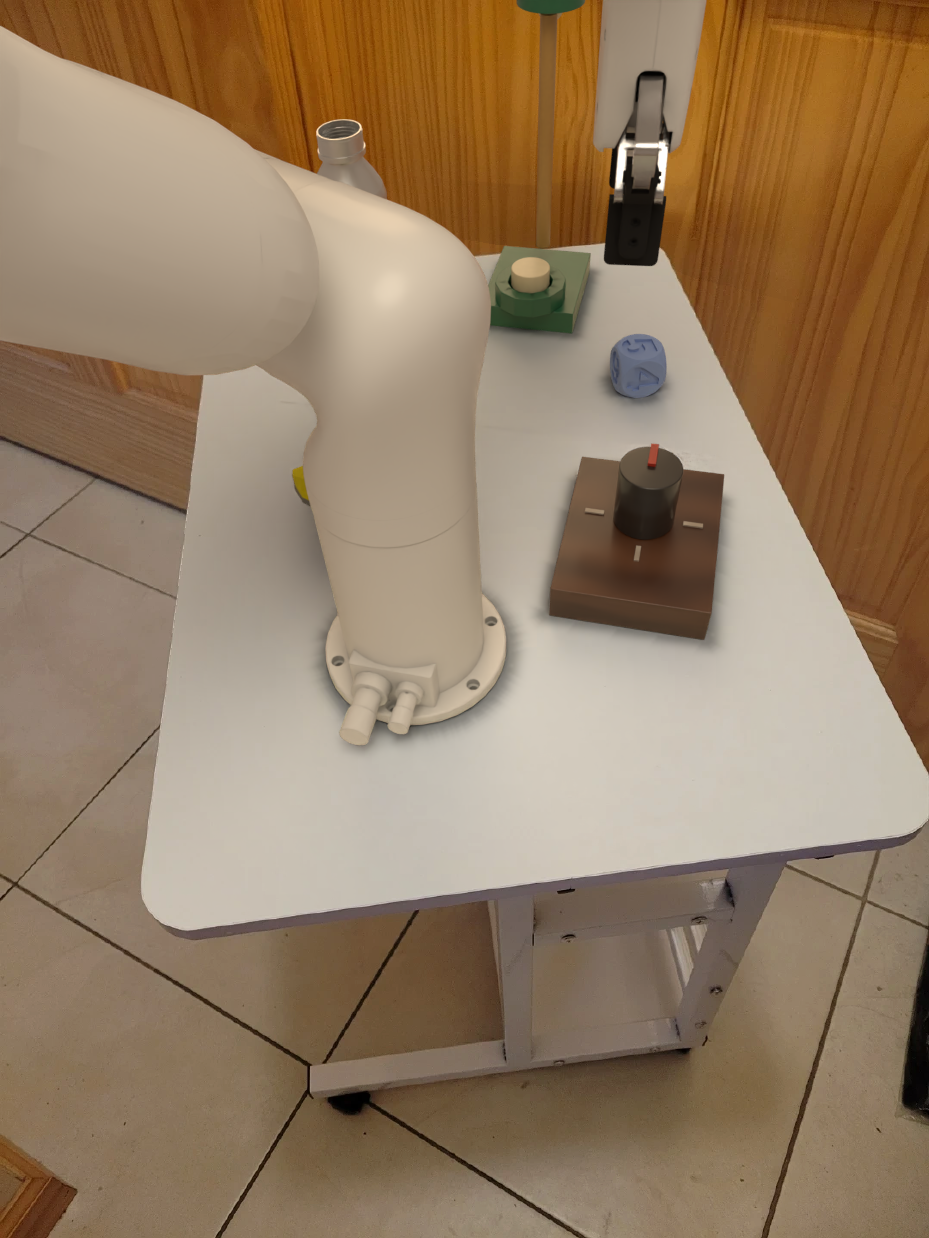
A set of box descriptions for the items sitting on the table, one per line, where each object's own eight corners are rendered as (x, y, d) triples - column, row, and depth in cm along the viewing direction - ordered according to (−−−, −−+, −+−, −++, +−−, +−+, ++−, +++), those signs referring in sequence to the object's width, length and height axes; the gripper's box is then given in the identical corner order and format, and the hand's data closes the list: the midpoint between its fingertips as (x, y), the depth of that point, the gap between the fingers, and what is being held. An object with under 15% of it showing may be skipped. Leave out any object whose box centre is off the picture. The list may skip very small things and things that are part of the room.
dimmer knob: (670, 544, 64) (681, 489, 60) (609, 535, 65) (615, 481, 61) (676, 501, 67) (687, 447, 63) (617, 494, 68) (623, 439, 63)
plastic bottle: (418, 339, 86) (397, 120, 71) (378, 377, 83) (346, 155, 67) (365, 321, 89) (332, 105, 73) (323, 357, 85) (280, 138, 70)
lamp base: (569, 341, 85) (572, 304, 82) (477, 332, 87) (476, 295, 84) (589, 273, 92) (592, 235, 89) (504, 265, 94) (503, 228, 91)
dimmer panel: (704, 640, 62) (712, 611, 60) (548, 615, 64) (550, 587, 62) (717, 502, 71) (725, 472, 68) (579, 484, 73) (581, 454, 70)
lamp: (567, 258, 87) (583, -62, 67) (511, 253, 88) (509, -63, 68) (576, 229, 90) (594, -84, 70) (522, 224, 91) (524, -85, 71)
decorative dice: (663, 395, 79) (669, 357, 76) (619, 401, 79) (623, 363, 76) (650, 368, 82) (656, 330, 79) (607, 374, 82) (611, 336, 79)
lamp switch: (545, 296, 84) (546, 279, 82) (507, 293, 84) (507, 275, 83) (552, 275, 86) (553, 258, 84) (515, 272, 86) (515, 255, 85)
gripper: (600, -156, 50) (579, 161, 63) (584, -66, 39) (563, 294, 52) (738, -158, 49) (688, 164, 62) (762, -66, 38) (695, 300, 51)
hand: (631, 223), depth 57 cm, fingers open, 9 cm apart
